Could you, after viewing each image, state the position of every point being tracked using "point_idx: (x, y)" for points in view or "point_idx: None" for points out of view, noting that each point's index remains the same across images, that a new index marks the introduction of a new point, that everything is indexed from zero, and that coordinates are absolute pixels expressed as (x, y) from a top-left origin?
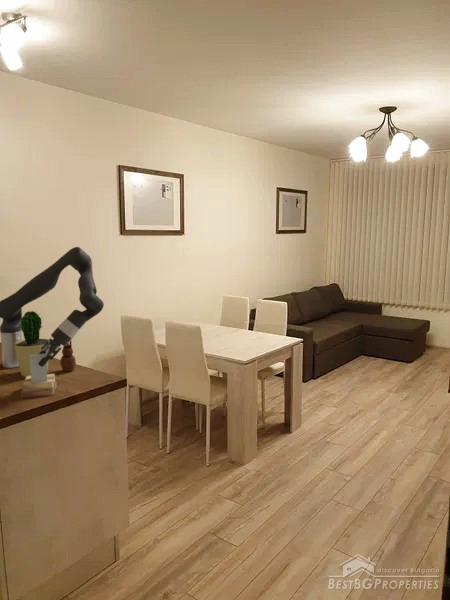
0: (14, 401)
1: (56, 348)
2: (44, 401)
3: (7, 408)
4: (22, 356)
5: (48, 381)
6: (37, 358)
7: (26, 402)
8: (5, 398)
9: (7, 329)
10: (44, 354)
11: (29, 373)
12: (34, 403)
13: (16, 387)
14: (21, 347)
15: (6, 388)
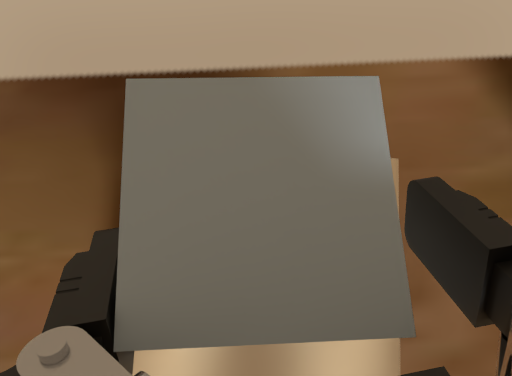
0: (117, 121)
1: None
2: (15, 314)
3: (7, 88)
4: None
5: (150, 354)
6: (124, 199)
7: (59, 192)
8: (200, 70)
9: None
10: (336, 322)
11: None
12: (10, 245)
13: (397, 121)
14: None
15: (394, 66)
